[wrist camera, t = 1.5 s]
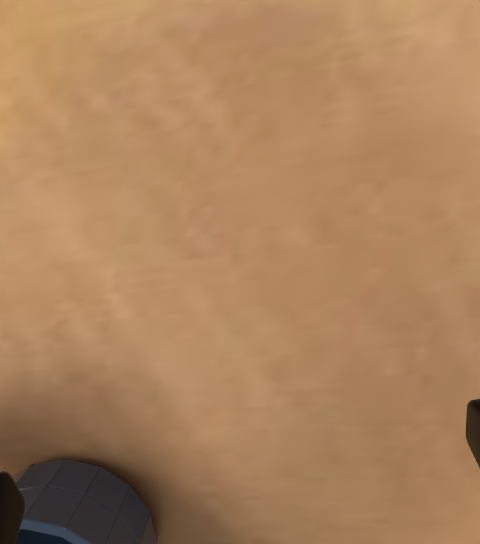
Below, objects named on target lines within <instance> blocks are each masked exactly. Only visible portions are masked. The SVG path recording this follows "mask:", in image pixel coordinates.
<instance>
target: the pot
mask: <svg viewBox="0 0 480 544" xmlns="http://www.w3.org/2000/svg"><path fill="white" fill-rule="evenodd" d="M12 478H13V480H14V481H15V483H16V485H17V486H18V488H19V490H20V491H21V493H22V495H23V497H24V500H25V511H24V515H23V519H22V522H21V526H20V530H19V533H18V537H17V541H16V544H157V538H156V534H155V530H154V526H153V522H152V518H151V513H150V512H149V510H148V508H147V507H146V506H145V504H144V503H143V502H142V500H141V499H140V498H139V496H138V495H137V494H136V492H135V491H134V490H133V488H132V487H131V486H130V485H129V484H127V483H126V482H124V481H123V480H121V479H120V478H118V477H116V476H115V475H113V474H112V473H110V472H108V471H107V470H105V469H104V468H102V467H101V468H100V466H96V465H91V464H86V463H82V462H77V461H72V460H68V459H67V460H66V459H63V460H56V461H49V462H42V463H36V464H32V465H30V466H29V467H27V468H25V469H24V470H22V471H20V472H19V473H17V474H15V475H14V476H12Z"/></svg>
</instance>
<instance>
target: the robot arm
mask: <svg viewBox="0 0 480 544" xmlns="http://www.w3.org/2000/svg"><path fill="white" fill-rule="evenodd" d="M466 438H467V442H468V445H469V447H470V449H471V451H472V453H473V455H474V457H475V459H476V461H477V463H478V465H479V468H480V399H476V400H471V401H470V402H469V403H468V405H467V418H466ZM24 511H25V500H24V497H23V495H22V493H21V491H20V490H19V488H18V486H17V485H16V483H15V481H14V480H13V478H12V476H11V475H10V474H9V473H8V472H4V471H3V472H0V544H16V541H17V537H18V533H19V530H20V526H21V522H22V519H23V515H24Z"/></svg>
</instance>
